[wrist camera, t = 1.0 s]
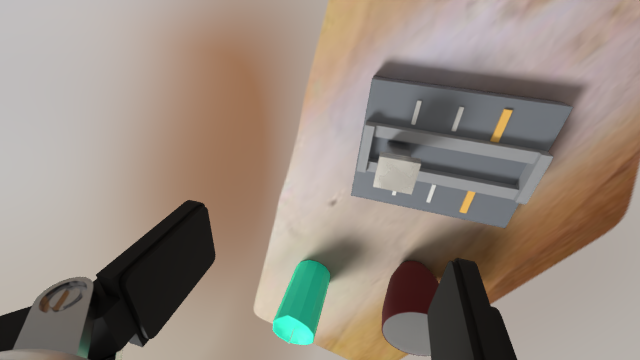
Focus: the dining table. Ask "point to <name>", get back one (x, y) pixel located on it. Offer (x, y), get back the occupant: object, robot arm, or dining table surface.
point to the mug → (409, 308)
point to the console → (459, 147)
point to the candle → (302, 303)
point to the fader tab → (397, 168)
